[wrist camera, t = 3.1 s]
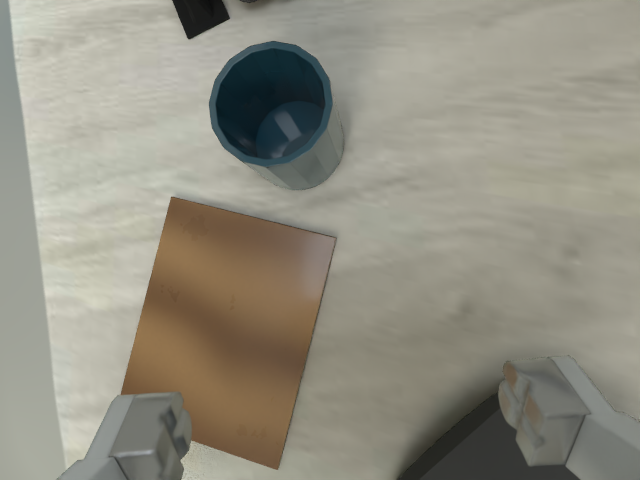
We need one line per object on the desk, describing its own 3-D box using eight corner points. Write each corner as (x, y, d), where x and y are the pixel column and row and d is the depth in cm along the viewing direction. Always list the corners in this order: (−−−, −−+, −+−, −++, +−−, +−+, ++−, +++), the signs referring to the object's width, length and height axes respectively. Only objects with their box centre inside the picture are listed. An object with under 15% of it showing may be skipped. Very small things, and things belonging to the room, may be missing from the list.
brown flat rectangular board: (173, 197, 31) (170, 196, 30) (336, 238, 29) (336, 237, 28) (118, 412, 31) (115, 414, 30) (278, 467, 29) (277, 470, 28)
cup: (266, 91, 30) (226, 32, 22) (353, 109, 29) (345, 53, 21) (243, 178, 30) (196, 151, 22) (331, 199, 29) (314, 178, 21)
